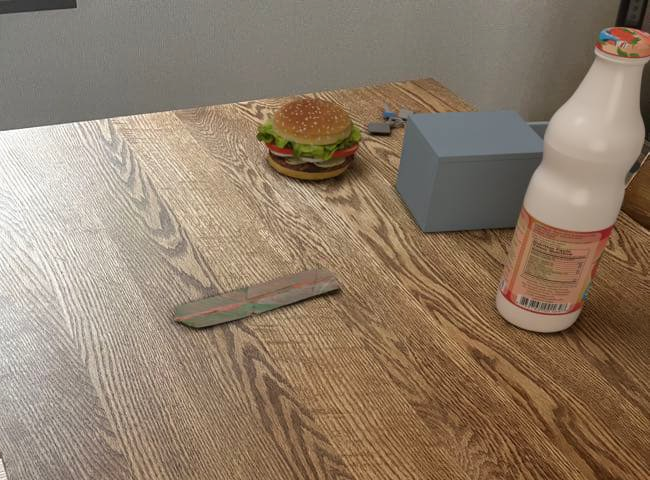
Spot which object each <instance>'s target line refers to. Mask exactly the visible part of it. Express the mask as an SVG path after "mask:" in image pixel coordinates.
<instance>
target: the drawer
mask: <svg viewBox="0 0 650 480" xmlns="http://www.w3.org/2000/svg"><path fill="white" fill-rule="evenodd" d="M525 122H526V123H527V124H528V125H529V126H530V127H531V128H532V129H533V130H534V131H535V132H536V133H537V134H538V135H539V137H540V138H541V139H542V140H543V141H544V135H545V132H546V129H547V126H548V124H549V122H550V120H549V121H548V120H545V121H525ZM641 167H642V163H641V161H639V160H638V159H637V160H636V162H635V163H634V165H633V166H632V167H631V169H630V170H629V172H628V173H631V174H635V173H637V172H638V171H639V170H640V169H641Z"/></svg>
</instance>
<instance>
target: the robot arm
mask: <svg viewBox="0 0 650 480" xmlns="http://www.w3.org/2000/svg"><path fill="white" fill-rule="evenodd" d="M649 1H650V0H620V1H619V5H618V9H617V15H616V19H615V24H614V27H623V28H632V29H637V30H641V31H642V29H643V25H644V21H645V17H646V13H647V9H648V4H649Z"/></svg>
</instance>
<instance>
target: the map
mask: <svg viewBox="0 0 650 480" xmlns="http://www.w3.org/2000/svg"><path fill="white" fill-rule="evenodd" d="M339 286H340V283H339V281H338V280H337V275H335V273H334V272H331V270H330V269H329V268H322V269H321V268H320V267H316V268H312V269H308V270H305V271H300V272H295V273H291V274H287V275H284V276H281V277H276V278H274V279H271V280H266V281H264V282H260V283H257V284H254V285H249V286H246V287H242V288H239V289H236V290H232V291H229V292H228V291H227V292H225V293H222V294H218V295H215V296H211V297H207V298H203V299H199V300H195V301H192V302H187V303H183V304H177V305H175V309H176V310H175V311H174V313H175V315H174V317H173V320H174V321H176V322H181V323H183V324H185V325H187V326H188V327H192V328H203V327H209V326H213V325H218V324H223V323H226V322H232V321H236V320H239V319H244V318H246V317H250V316H251V315H252V313H254V314H257V315H259V314H261V313H265V312H268V311H271V310H274V309H277V308H280V307H284V306H286V305H290V304H293V303H296V302H299V301H301V300H304V299H307V298H311V297H314V296H317V295H321V294H325V293H328V292H331V291H333V290H337V289H340V288H339Z"/></svg>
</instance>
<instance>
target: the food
mask: <svg viewBox="0 0 650 480" xmlns="http://www.w3.org/2000/svg"><path fill="white" fill-rule="evenodd" d="M257 125H258V126H257V127H256V132H257V133H256V140H257V141H259V143H260V142H263V143H264V144H265V146H266V148H267V149H268V153H267V160H268V163H269V166H270V167H272V168H273V169H274V170H275V171H277V172H278V173H279V174H283V175H285V176H287V177H290V178H295V179H301V180H313V181H314V180H325V179H329V178H333V177H338V176H339V175H341V174H343V173H345V172H346V171H347V169H348V168H349V166H350V165H351V164H350V163H352V162H353V161H354V160H355V158H356V153H357V152H358V150H359V149H360V142H361V143H362V138H363V135H362V133H361V132H360V131H361V130H360V127H359V126H355V125H354V123H353V120H352V119H351V116H350V115H349V113H347V111H346V110H345V109H344V108H343V107H341V105H338V104H337V103H335V102H332V101H329V100H327V99H321V98H311V97H309V98H299V99H294V100H292V101H289V102H286V103H285V104H282V106H281V107H279V108H278V110H276V111H275V112H274V114H273V117H269V118H267V120H266V121H265V122H264V124H263V125H260V123H259V122H258V123H257Z"/></svg>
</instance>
